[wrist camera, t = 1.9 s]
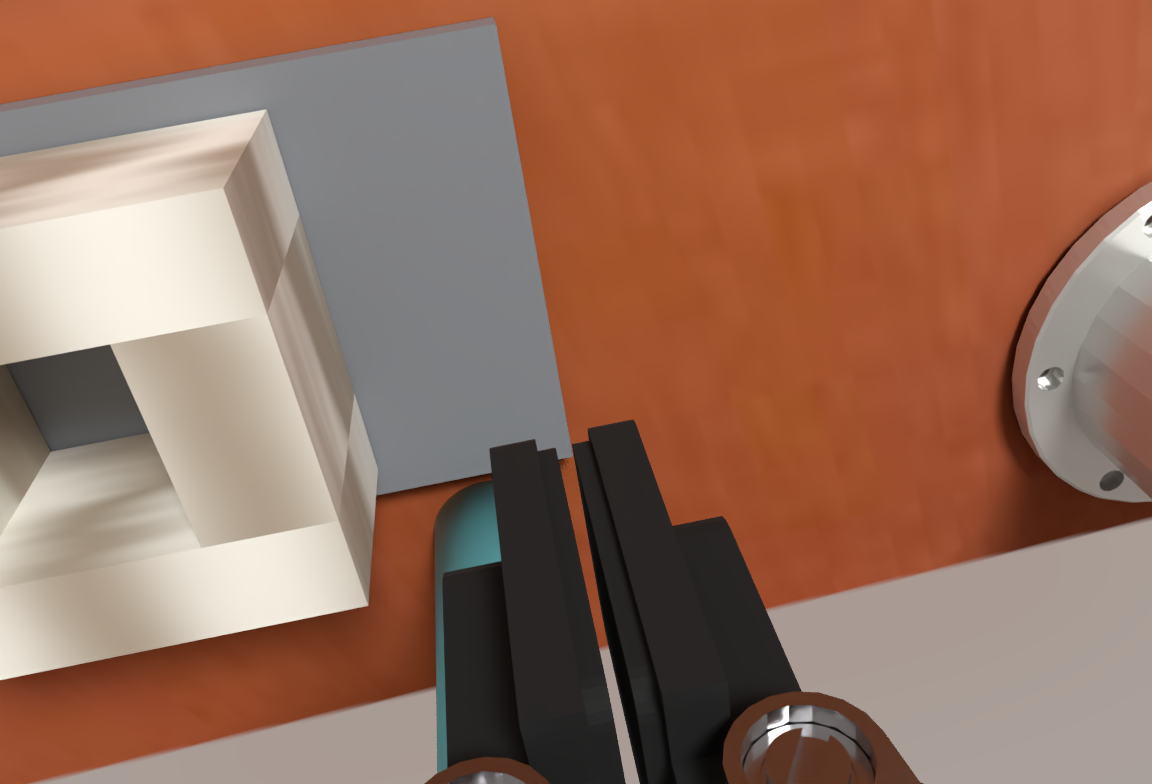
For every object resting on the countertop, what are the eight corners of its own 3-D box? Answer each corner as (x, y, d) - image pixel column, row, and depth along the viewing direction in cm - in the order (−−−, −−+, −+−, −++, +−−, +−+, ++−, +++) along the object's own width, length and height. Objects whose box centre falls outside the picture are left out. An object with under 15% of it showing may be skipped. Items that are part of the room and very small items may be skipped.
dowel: (543, 470, 32) (600, 780, 21) (561, 562, 34) (621, 885, 23) (422, 493, 31) (420, 817, 21) (447, 585, 34) (458, 920, 23)
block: (266, 109, 24) (223, 187, 19) (378, 469, 29) (368, 605, 24) (-231, 198, 23) (-416, 304, 18) (-20, 547, 29) (-115, 703, 24)
